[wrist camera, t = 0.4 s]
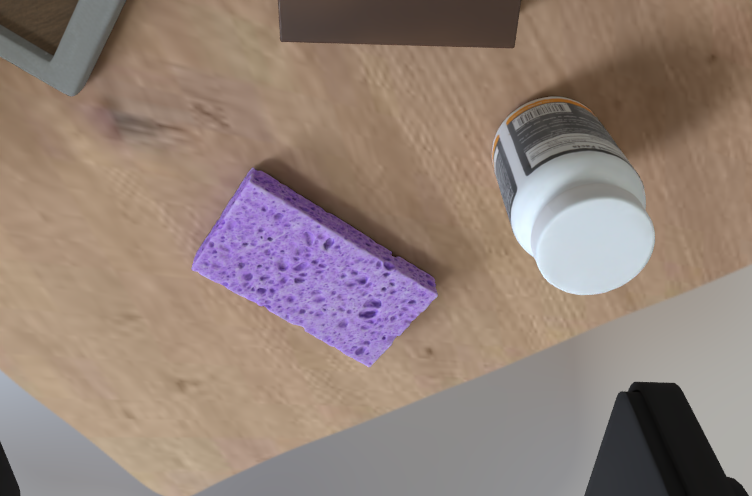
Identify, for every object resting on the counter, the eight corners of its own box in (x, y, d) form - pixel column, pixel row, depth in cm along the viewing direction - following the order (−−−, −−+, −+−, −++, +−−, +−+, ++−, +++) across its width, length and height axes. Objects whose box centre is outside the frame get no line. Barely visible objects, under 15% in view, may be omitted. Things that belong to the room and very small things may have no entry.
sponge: (369, 348, 42) (369, 369, 41) (192, 251, 38) (184, 270, 37) (438, 276, 39) (441, 296, 38) (254, 163, 35) (248, 179, 34)
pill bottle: (568, 204, 37) (623, 321, 28) (472, 174, 36) (499, 286, 27) (621, 111, 34) (699, 211, 25) (518, 76, 33) (564, 168, 24)
